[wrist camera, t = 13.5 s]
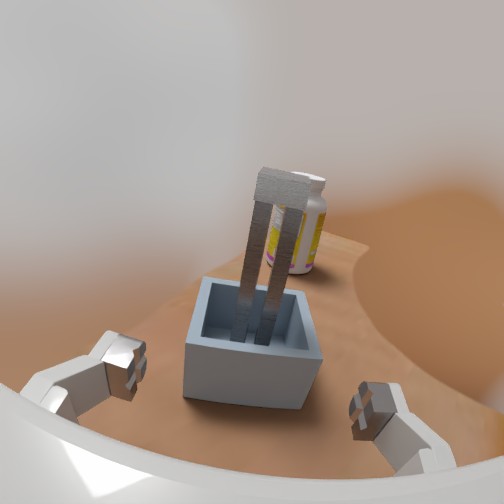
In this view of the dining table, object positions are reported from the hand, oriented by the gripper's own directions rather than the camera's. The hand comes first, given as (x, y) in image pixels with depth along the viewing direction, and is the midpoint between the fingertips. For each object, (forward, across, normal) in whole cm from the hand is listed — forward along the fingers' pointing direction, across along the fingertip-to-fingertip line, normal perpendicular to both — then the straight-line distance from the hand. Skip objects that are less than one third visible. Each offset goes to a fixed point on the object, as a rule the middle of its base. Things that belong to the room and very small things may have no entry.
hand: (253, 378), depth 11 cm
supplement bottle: (+32, -4, +10) cm, 34 cm away
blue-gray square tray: (+11, 0, +10) cm, 15 cm away
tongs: (+11, 0, +9) cm, 14 cm away
